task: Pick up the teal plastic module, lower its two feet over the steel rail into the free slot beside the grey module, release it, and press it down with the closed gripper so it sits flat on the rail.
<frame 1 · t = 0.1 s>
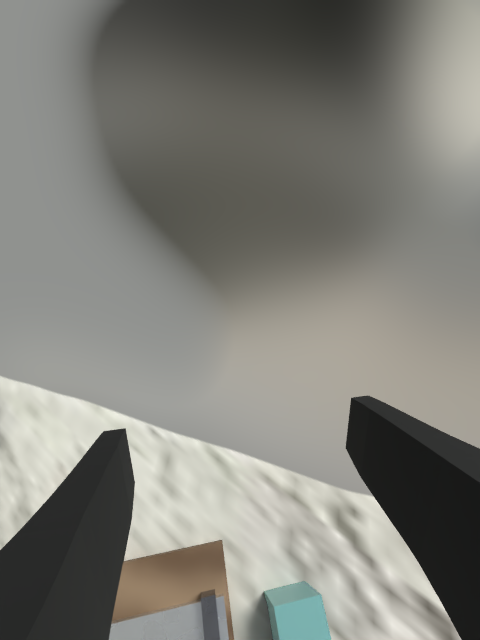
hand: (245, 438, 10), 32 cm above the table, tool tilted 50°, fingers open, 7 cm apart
mounting board: (116, 639, 30), on the table
teal module: (291, 620, 32), on the table
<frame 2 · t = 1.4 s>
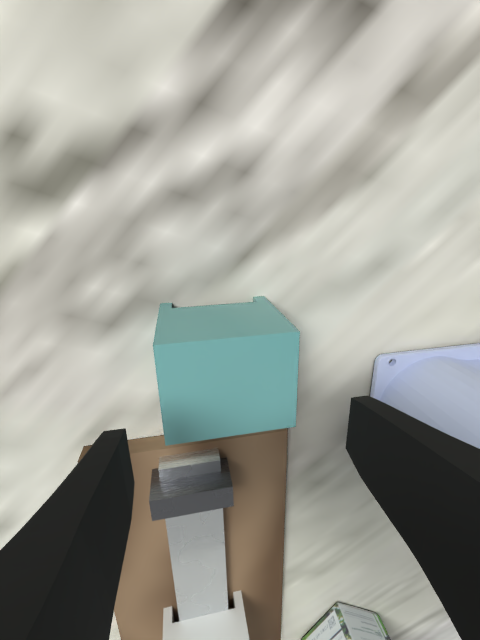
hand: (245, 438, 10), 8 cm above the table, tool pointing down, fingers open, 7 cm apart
mounting board: (199, 555, 23), on the table
teal module: (215, 338, 18), on the table
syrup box: (336, 622, 30), on the table
steel rail: (201, 591, 21), on the mounting board, point 2 cm above the table
grey module: (204, 618, 24), resting on mounting board
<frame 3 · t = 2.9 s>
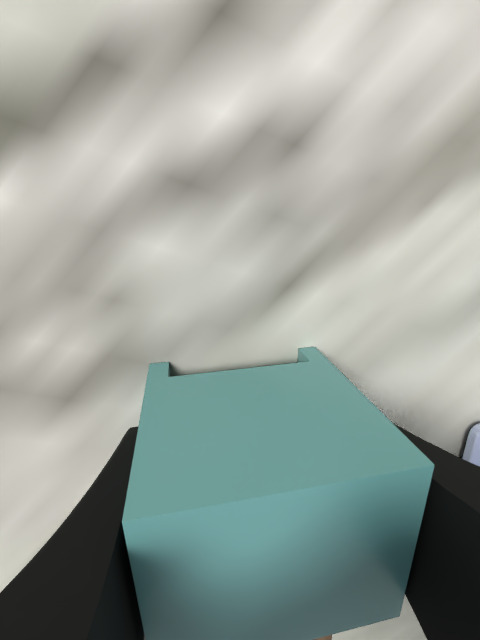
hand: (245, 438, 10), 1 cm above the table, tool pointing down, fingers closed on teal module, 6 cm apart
teal module: (237, 411, 11), on the table, touching gripper
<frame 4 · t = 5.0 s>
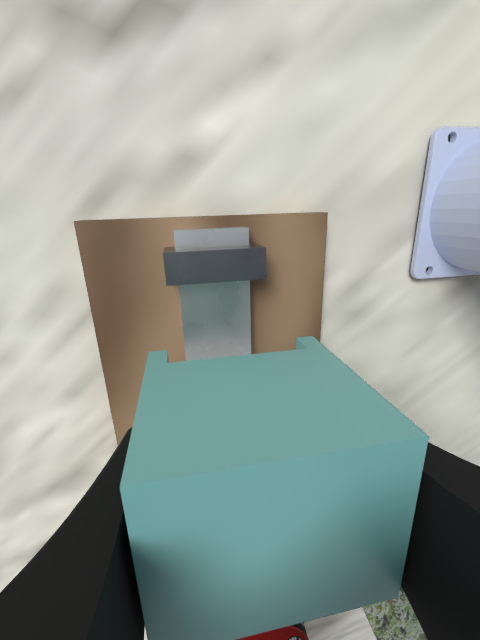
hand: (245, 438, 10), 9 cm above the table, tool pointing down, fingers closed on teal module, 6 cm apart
mounting board: (218, 401, 20), on the table
teal module: (236, 401, 11), point 7 cm above the table, touching gripper
canned food: (241, 583, 26), on the table
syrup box: (368, 513, 26), on the table
steel rail: (223, 424, 18), on the mounting board, point 2 cm above the table
when the fingers open (4 cm above the table, at t = 7.0 s): teal module drops 1 cm, resting on mounting board, steel rail.
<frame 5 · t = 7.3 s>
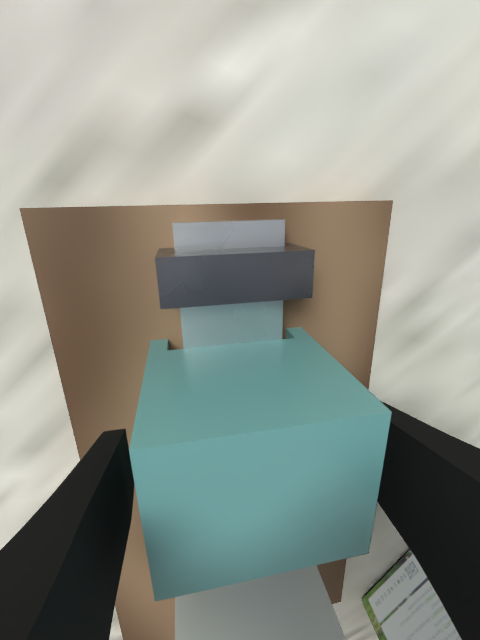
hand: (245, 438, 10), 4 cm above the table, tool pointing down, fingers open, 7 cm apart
mounting board: (230, 452, 15), on the table
teal module: (230, 386, 12), point 1 cm above the table, touching mounting board, steel rail
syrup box: (409, 575, 21), on the table
steel rail: (239, 492, 13), on the mounting board, point 2 cm above the table
grey module: (237, 551, 15), resting on mounting board
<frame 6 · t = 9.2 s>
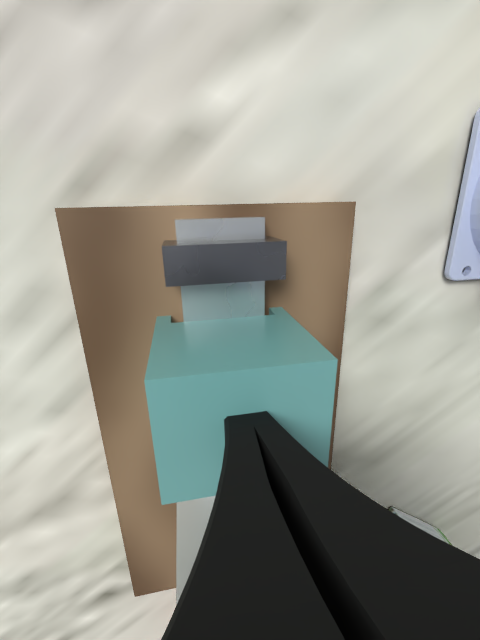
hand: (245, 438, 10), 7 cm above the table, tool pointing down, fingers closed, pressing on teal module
mounting board: (223, 417, 17), on the table
teal module: (223, 357, 15), point 1 cm above the table, touching gripper, mounting board, steel rail
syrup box: (387, 538, 24), on the table
steel rail: (230, 446, 15), on the mounting board, point 2 cm above the table
grey module: (230, 504, 18), resting on mounting board
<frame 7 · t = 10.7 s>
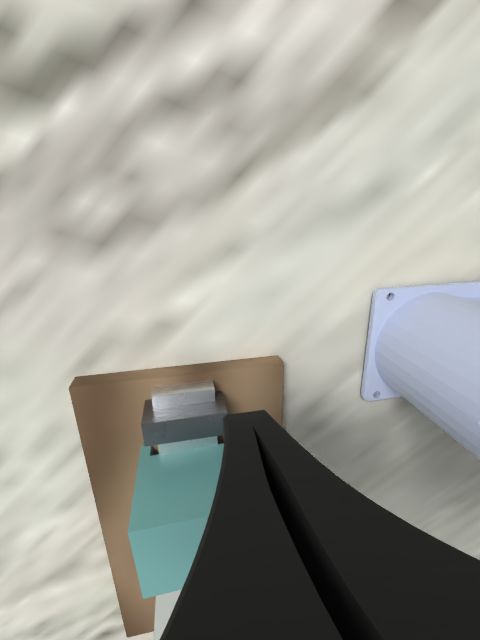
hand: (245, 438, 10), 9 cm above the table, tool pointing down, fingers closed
mounting board: (194, 502, 23), on the table
teal module: (191, 466, 20), point 1 cm above the table, touching mounting board, steel rail
steel rail: (196, 532, 21), on the mounting board, point 2 cm above the table
grey module: (200, 567, 23), resting on mounting board
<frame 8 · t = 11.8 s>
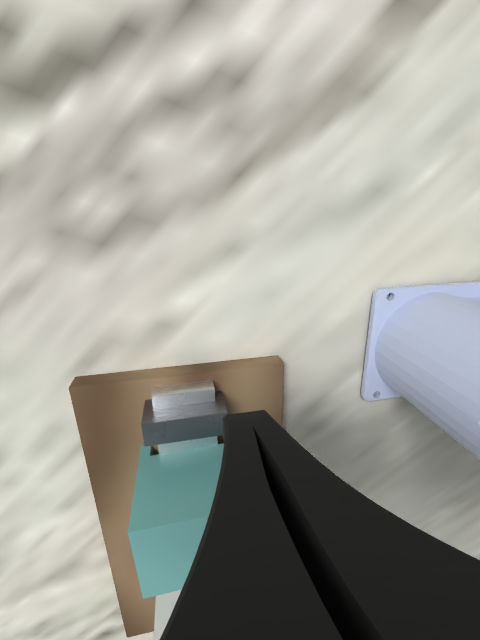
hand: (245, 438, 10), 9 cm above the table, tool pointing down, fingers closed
mounting board: (194, 502, 23), on the table
teal module: (191, 466, 20), point 1 cm above the table, touching mounting board, steel rail
steel rail: (196, 532, 21), on the mounting board, point 2 cm above the table
grey module: (200, 567, 23), resting on mounting board
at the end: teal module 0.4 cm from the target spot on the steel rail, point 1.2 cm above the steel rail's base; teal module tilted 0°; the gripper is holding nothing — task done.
